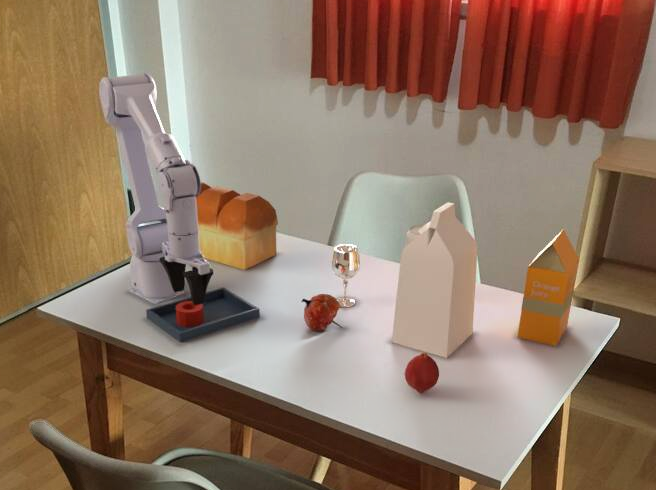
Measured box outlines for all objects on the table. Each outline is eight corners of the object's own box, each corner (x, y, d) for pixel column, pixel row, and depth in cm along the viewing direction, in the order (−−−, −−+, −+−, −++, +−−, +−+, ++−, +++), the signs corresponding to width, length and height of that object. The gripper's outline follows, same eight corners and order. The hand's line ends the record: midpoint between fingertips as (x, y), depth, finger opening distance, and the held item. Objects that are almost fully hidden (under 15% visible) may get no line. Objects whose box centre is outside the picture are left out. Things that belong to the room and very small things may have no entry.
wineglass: (327, 305, 172) (327, 251, 166) (336, 295, 176) (338, 241, 170) (353, 310, 170) (354, 255, 164) (362, 299, 175) (364, 245, 168)
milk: (446, 357, 153) (460, 222, 139) (391, 342, 158) (399, 210, 144) (472, 333, 161) (487, 203, 148) (419, 319, 167) (429, 193, 153)
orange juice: (567, 328, 164) (585, 231, 153) (556, 346, 157) (574, 246, 146) (528, 319, 167) (543, 224, 156) (516, 337, 160) (530, 239, 150)
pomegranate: (335, 329, 168) (296, 300, 165) (357, 306, 163) (317, 276, 161) (328, 349, 162) (288, 319, 159) (351, 326, 157) (310, 295, 155)
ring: (172, 320, 165) (170, 305, 163) (195, 313, 168) (193, 298, 166) (185, 329, 161) (184, 314, 160) (208, 322, 164) (207, 307, 162)
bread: (278, 254, 196) (277, 193, 189) (245, 270, 188) (243, 207, 180) (200, 232, 209) (196, 174, 201) (165, 247, 200) (160, 187, 192)
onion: (400, 384, 144) (403, 343, 140) (433, 383, 145) (437, 342, 141) (406, 401, 139) (410, 360, 135) (440, 400, 140) (444, 359, 136)
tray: (146, 319, 166) (145, 309, 165) (224, 296, 176) (223, 287, 174) (180, 344, 157) (179, 333, 156) (259, 318, 167) (259, 308, 165)
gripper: (145, 224, 157) (152, 290, 164) (184, 246, 148) (189, 315, 155) (177, 217, 161) (183, 281, 168) (217, 237, 151) (221, 305, 158)
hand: (188, 297), depth 162 cm, fingers open, 7 cm apart
